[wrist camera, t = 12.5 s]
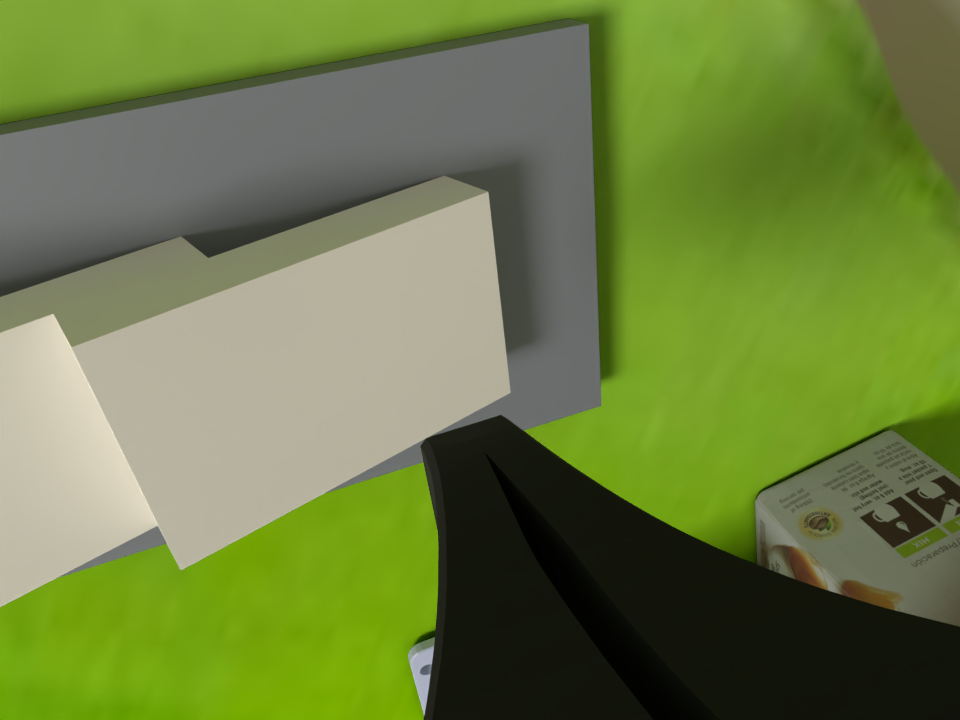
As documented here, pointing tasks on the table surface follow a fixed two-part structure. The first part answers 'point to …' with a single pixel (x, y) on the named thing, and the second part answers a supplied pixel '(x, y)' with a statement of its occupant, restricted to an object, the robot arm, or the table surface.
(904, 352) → the table surface
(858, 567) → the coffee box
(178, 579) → the table surface
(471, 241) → the domino
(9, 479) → the domino
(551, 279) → the slate board
